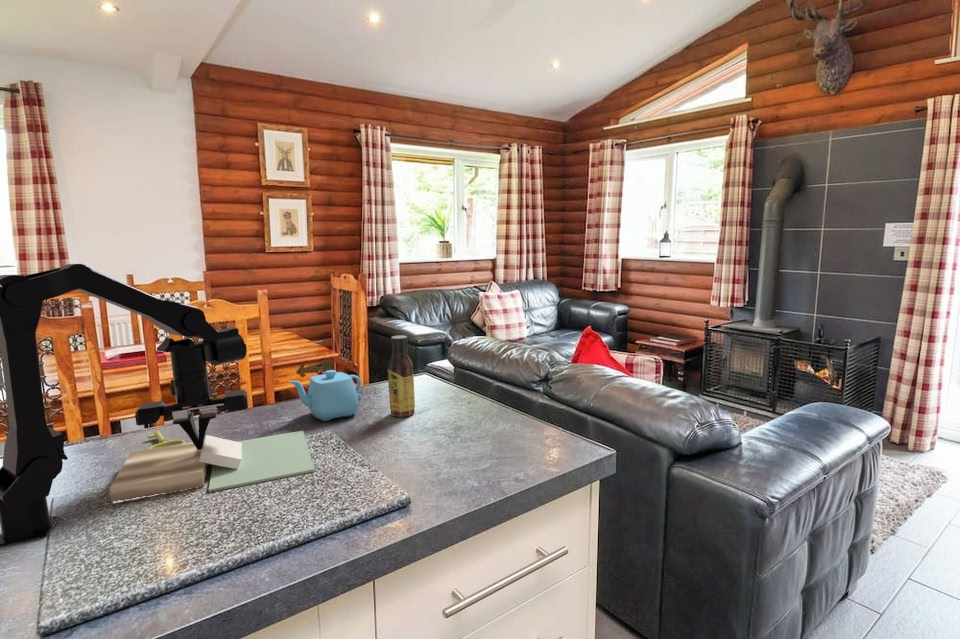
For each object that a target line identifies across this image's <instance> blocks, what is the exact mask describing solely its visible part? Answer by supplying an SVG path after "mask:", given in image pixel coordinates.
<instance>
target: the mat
mask: <svg viewBox="0 0 960 639" xmlns="http://www.w3.org/2000/svg"><path fill="white" fill-rule="evenodd" d="M237 442H241V443H242V460H241V462H240V465H239V468H238V469H233V468H228V467H223V466H218V465H213V464H212V466H211V467H212V468H211V474H210V480H209V486H208V493H212V492H211V491H214V492H218V491H217V490H219V491H223V490H222V489H224V490H227V489H228V488H229V489H234V488H237V487H243V485H244V486H248V485H253V484H259V483H263V482H268V481H273V480H280V479H283V478H288V477H294V476H298V475H299V476H300V475H305V474H309V473H313V472H315V467H314V462H313V460H312V457H311V453H310V449H309V447H308V443H307V439H306V436H305V433H304V430H299V431H293V432H287V433H280V434H274V435H269V436H264V437H263V436H262V437H256V438H251V439H244V440H239V441H237ZM233 487H234V488H233Z"/></svg>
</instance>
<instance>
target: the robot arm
mask: <svg viewBox="0 0 960 639" xmlns="http://www.w3.org/2000/svg"><path fill="white" fill-rule="evenodd" d="M73 291H78V292H80V293H84V294H86V295H89V296H91V297H93V298H96V299H98V300H101V301H104V302H106V303H109V304H111V305H114V306H116V307H119V308H121V309H123V310H127V311H129V312H131V313H134V314H136V315H138V316H141V317H143V318H144V319H146V320H147V321H149V322H150V323H152V325H153V326H156V327H157V328H158V329H160V330H162V331H163V332H166V333H167V334H169V335H174V336H178V337H179V336H180V337H186V338H182V339H177V340H175V339H173V338H172V337H171V338H170V337H165V338H164V340H163V342H162V343H160V344H159V345H158V346H157V347H156V351H158V352H162V353H170V359H171V369H172V375H173V377H172V378H173V379H170V394H171V396H173V397H175V398H176V399H175V400H176V403H171V404H165V402H164V400H157V401H151V402H143V403H141V405H140V406H139V407H138V409H136V411H135V416H134V417H135V418H134V419H135V425H136V426H145V425H152V424H156V423H157V422H158V421H159V420H160V419H161V417H164V416H169V415H170V416H171V415H172V417H173V420H172V425H179V426H180V428H182V429H183V431H184V432H185V433H186V435H188V437H189V439H190V441H191V442H193V443H194V445H195V447H196V448H197V450H201V449H202V447H203V443H204V439H205V437H206V431H207V429H208V426H209V424H210V421H211V420H212V419H213V420H214V419H215V418H217V415H218V409H219V408H225V409H226V410H227V411H228V412H237V411H245V410H247V409H249V401H248V400H249V398H248V392H247V391H246V390H245V389H239V390H231V391H230V390H229V391H225V393H224V396H223V397H216V398H212V396H213V395H212V394H213V393H212V385H211V382H210V380H209V375H208V367H207V362H208V363H210V364H211V365H212V366H214V367H215V366H220V365H223V364H224V365H225V364H229V363H233V362H238V361H243V360H245V358H246V355H247V351H248V350H247V348H248V347H247V344H246V343H245V340H244V338H243V337H242V335H241V334H240V332H239V328H238V327H229V328H228V327H227V328H225V329H222V330H216V329H215V328H214V327H213V326H212V325H211V323H209V321H208V320H207V318H206V315H205V312H204V311H203V310H202V309H200V308H199V307H198V306H194V305H189V304H185V303H182V302H177V301H172V300H168V299H163V298H159V297H157V296H154V295H152V294H150V293H147V292H145V291H143V290H141V289H138V288H136V287H133V286H132V285H128V284H126V283H124V282H123V281H122V282H121V281H119V280H117V279H115V278H113V277H110V276H108V275H105V274H103V273H101V272H98V271H97V270H94V269H92V268H91V267H89V266H88V265H86V264H84V263H83V264H82V263H68V264H63V265H62V266H61V267H57V268H53V269H52V268H51V269H48V270H44V271H38V272H35V273H31V274H26V275H21V274H2V275H0V358H1V359H0V360H1V366H2V373H3V383H4V390H5V391H4V392H5V398H6V406H7V413H8V421H9V426H8V427H9V428H8V431H7V432H8V433H7V435H6V439H5V442H4V446H3V447H4V448H3V456H2V457H3V458H2V466H1V467H0V531H1V534H0V547H4V546H5V547H6V546H10V545H14V544H20V543H24V542H29V541H34V540H38V539H44V538H46V537H48V535H49V534H50V533H51V531H52V530H53V528H54V527H53V525H54V524H55V522H56V521H57V519H58V518H59V519H60V517H59V515H54V516H50V511H49V506H48V499H47V497H48V496H49V495H50V493H51V492H50V491H51V488H52V486H53V485H52V484H53V481H54V480H55V479H56V478H57V476H58V475H59V474H60V473H61V472H62V469H63V463H64V462H63V460H64V461H67V460H68V458H69V457H68V456H67V455H66V453H65V449H64V447H65V435H64V433H61V432H60V431H58V430H55V429H53V428H51V427H50V428H49V427H48V424H47V421H46V412H45V404H44V403H45V402H44V395H43V387H42V379H41V377H42V376H41V371H40V370H41V369H40V363H39V361H40V360H39V354H38V353H39V352H38V345H37V336H36V335H37V330H38V326H39V323H40V320H41V317H42V312H43V310H42V308H43V302H44V301H47V300H50V299H54V298H58V297H59V296H62V295H65V294H67V293H71V292H73ZM187 337H188V338H187ZM191 338H194V339H201V340H199V341H194V340H193V339H191ZM197 411H198V412H199V417H198V430H197V426H196V423H195V421H196V420H195V416H194V412H197ZM57 522H58V521H57ZM55 525H56V524H55ZM55 525H54V526H55ZM52 527H53V528H52ZM51 529H52V530H51ZM50 530H51V531H50Z"/></svg>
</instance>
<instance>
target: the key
mask: <svg viewBox="0 0 960 639" xmlns="http://www.w3.org/2000/svg"><path fill="white" fill-rule="evenodd" d="M146 437H147V438H148V440H149V439H153V438H156V439H157V441H158V443H156V444H154V445H151V446H149V447H148V448H147V449H152V448H159V447H165V446H170V445H176V444H183V443H187V442H186V441H185V440H184V439H172V440H169V439H167V438H165V437H164V436H163V434H162V432H160V431H159V430H158V431H157V430H156V431H155V432H154V433H152V434H147V435H146Z"/></svg>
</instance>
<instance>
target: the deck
mask: <svg viewBox="0 0 960 639" xmlns="http://www.w3.org/2000/svg"><path fill="white" fill-rule="evenodd" d="M200 454H201V450H197V448H196V447H195V445H194V443H193V442H192V441H190V442H186V443H183V444H177V445H171V446H165V447H159V448H152V449H148V448H147V449H146V448H145V449H141V450H136V451H131V452H130V453H129V455H128V457H127V458H126V460H125V462H124V463H123V464H122V467H121V469H119V472H118V473H117V475H116V477H115V478H114V480H113V482H112V483H111V485H110V487H109V493H110V500H111V501H110V502H111V503H112V502H113V501H118V500H125V499H132V498H136V497H143V496H150V495H155V494H161V493H169V492H174V491H180V490H185V489H189V488H190V490H192V489H191V488H196V487H200V486H204V487H205V484H204V482H206V479H205V477H206V478H207V474H206V472H207V473H208V469H207V467H209V464H208V463H203V462H199V459H200ZM196 489H197V488H196ZM185 491H186V490H185ZM180 492H181V491H180Z"/></svg>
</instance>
